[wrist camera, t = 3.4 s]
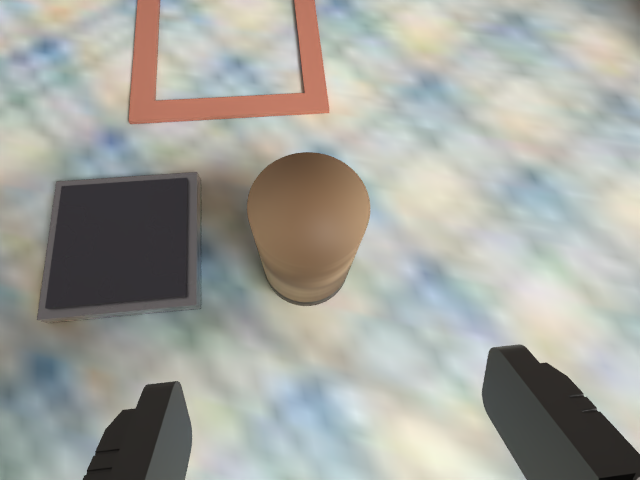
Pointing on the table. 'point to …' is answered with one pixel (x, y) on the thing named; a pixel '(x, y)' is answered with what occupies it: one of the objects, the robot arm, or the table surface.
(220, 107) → the marked square
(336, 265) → the stamp
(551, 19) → the table surface
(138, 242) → the ink pad
